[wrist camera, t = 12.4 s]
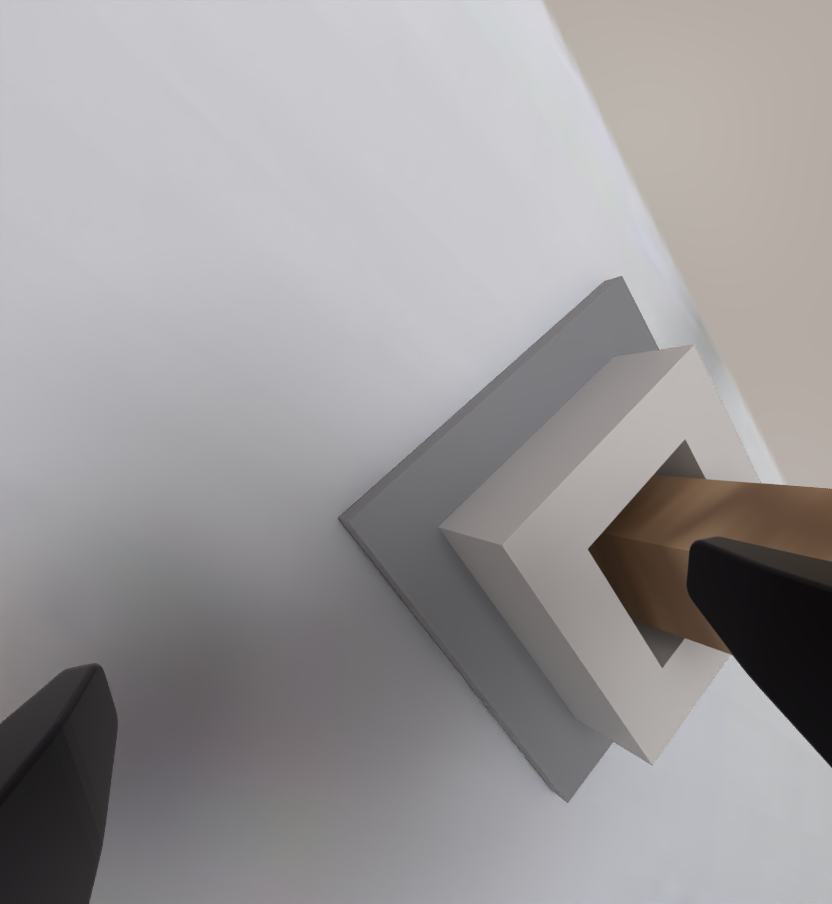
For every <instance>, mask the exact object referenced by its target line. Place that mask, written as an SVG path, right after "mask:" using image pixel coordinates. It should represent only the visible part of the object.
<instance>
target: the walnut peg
mask: <svg viewBox="0 0 832 904" xmlns="http://www.w3.org/2000/svg"><path fill="white" fill-rule="evenodd" d="M712 536H720V537H725V538H729V539H734V540H738V541H742V542H747V543H751V544H756V545H760V546H765V547H769V548H774V549H778V550H782V551H787V552H791V553H796V554H800V555H805V556H809V557H814V558H818V559H822V560H827V561H831V562H832V489H826V488H814V487H800V486H788V485H775V484H762V483H749V482H736V481H723V480H710V479H697V478H684V477H671V476H658V475H653V476H652V477H651V478H650V479H649V480H648V481H647V483H646V484H645V485H644V486H643V487H642V488H641V489H640V490H639V492H638V493H637V494H636V495H635V496H634V497H633V498H632V500H631V501H630V502H629V503H628V504H627V505H626V506H625V507H624V509H623V510H622V511H621V512H620V513H619V514H618V515H617V516H616V518H615V519H614V520H613V521H612V522H611V523H610V524H609V525H608V527H607V528H606V529H605V530H604V531H603V532H602V533H601V535H600V536H599V537H598V538H597V539H596V540H595V541H594V542H593V544H592V545H591V546H590V547H589V548H588V551H589V552H590V554H591V556H592V557H593V559H594V560H595V562H596V564H597V565H598V567H599V568H600V570H601V572H602V573H603V575H604V576H605V578H606V579H607V581H608V583H609V584H610V586H611V587H612V589H613V591H614V592H615V594H616V595H617V597H618V599H619V600H620V602H621V603H622V605H623V607H624V608H625V610H626V611H627V613H628V615H629V616H630V618H631V619H632V620H635V621H638V622H641V623H644V624H646V625H649V626H652V627H655V628H658V629H660V630H663V631H666V632H669V633H672V634H674V635H677V636H680V637H683V638H686V639H689V640H691V641H694V642H697V643H700V644H703V645H705V646H708V647H711V648H714V649H717V650H719V651H722V652H725V653H728V654H731V655H732V653H731V652H730V651H729V650H728V648H727V647H726V646H725V644H724V643H723V642H722V640H721V639H720V638H719V636H718V635H717V634H716V632H715V631H714V630H713V628H712V627H711V626H710V624H709V623H708V622H707V620H706V619H705V618H704V616H703V615H702V614H701V612H700V611H699V610H698V608H697V607H696V606H695V604H694V603H693V602H692V600H691V599H690V597H689V595H688V592H687V588H686V579H687V568H688V558H689V549H690V546H691V544H692V543H693V542H694V541H695V540H698V539H703V538H707V537H712Z"/></svg>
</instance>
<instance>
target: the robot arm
mask: <svg viewBox="0 0 832 904" xmlns="http://www.w3.org/2000/svg"><path fill="white" fill-rule="evenodd" d="M686 588H687V592H688V595H689V597H690V599H691V600H692V602H693V603H694V604H695V606H696V607H697V608H698V610H699V611H700V612H701V614H702V615H703V616H704V618H705V619H706V620H707V622H708V623H709V624H710V626H711V627H712V628H713V630H714V631H715V632H716V634H717V635H718V636H719V638H720V639H721V640H722V642H723V643H724V644H725V646H726V647H727V648H728V650H729V651H730V652H731V653H732V655H733V656H734V657H735V659H736V660H737V661H738V663H739V664H740V665H741V667H742V668H743V669H744V670H745V672H746V673H747V674H748V675H749V676H750V678H751V679H752V680H753V681H754V682H755V683H756V685H757V686H758V687H759V688H760V689H761V690H762V691H763V692H764V694H765V695H766V696H767V697H768V698H769V699H770V700H771V701H772V702H773V703H774V705H775V706H776V707H777V708H778V709H779V710H780V711H781V712H782V713H783V715H784V716H785V717H786V718H787V719H788V720H789V721H790V722H791V723H792V724H793V726H794V727H795V728H796V729H797V730H798V731H799V732H800V733H801V734H802V735H803V737H804V738H805V739H806V740H807V741H808V742H809V743H810V744H811V745H812V747H813V748H814V749H815V750H816V751H817V752H818V753H819V754H820V755H821V756H822V758H823V759H824V760H825V761H826V762H827V763H828V764H829V765H830V766H831V768H832V562H831V561H827V560H822V559H818V558H814V557H809V556H805V555H800V554H796V553H791V552H787V551H782V550H778V549H774V548H769V547H765V546H760V545H756V544H751V543H747V542H742V541H738V540H734V539H729V538H725V537H720V536H712V537H707V538H703V539H698V540H695V541H694V542H693V543H692V544H691V546H690V549H689V558H688V568H687V579H686ZM117 729H118V721H117V713H116V709H115V705H114V702H113V699H112V696H111V692H110V689H109V686H108V682H107V679H106V676H105V673H104V670H103V668H102V667H101V666H100V665H99V664H97V663H93V664H88V665H83V666H78V667H73V668H68V669H66V670H64V671H62V672H61V673H60V674H59V675H58V676H56V677H55V678H54V679H53V680H52V681H50V682H49V683H48V684H47V685H46V686H44V687H43V688H42V689H41V690H40V691H38V692H37V693H36V694H35V695H34V696H32V697H31V698H30V699H29V700H28V701H27V702H25V703H24V704H23V705H22V706H21V707H19V708H18V709H17V710H16V711H15V712H13V713H12V714H11V715H10V716H9V717H7V718H6V719H5V720H4V721H3V722H1V723H0V904H89V901H90V897H91V893H92V889H93V885H94V881H95V876H96V872H97V868H98V864H99V859H100V855H101V850H102V845H103V839H104V832H105V825H106V817H107V810H108V802H109V794H110V786H111V778H112V770H113V762H114V754H115V746H116V738H117Z"/></svg>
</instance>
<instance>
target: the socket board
mask: <svg viewBox="0 0 832 904" xmlns="http://www.w3.org/2000/svg"><path fill="white" fill-rule="evenodd" d="M653 475H658V476H671V477H684V478H697V479H710V480H723V481H736V482H749V483H761V481H760V479H759V477H758V475H757V473H756V471H755V469H754V467H753V465H752V463H751V461H750V459H749V456H748V454H747V452H746V450H745V448H744V446H743V444H742V442H741V440H740V438H739V436H738V434H737V432H736V429H735V427H734V425H733V423H732V421H731V419H730V417H729V415H728V413H727V411H726V409H725V407H724V405H723V402H722V400H721V398H720V396H719V394H718V392H717V390H716V388H715V386H714V384H713V382H712V380H711V378H710V375H709V373H708V371H707V369H706V367H705V365H704V363H703V361H702V359H701V357H700V355H699V353H698V351H697V348H696V346H695V345H688V346H681V347H675V348H668V349H662V350H659V348H658V346H657V344H656V342H655V340H654V338H653V337H652V335H651V333H650V331H649V329H648V327H647V325H646V323H645V321H644V319H643V317H642V315H641V313H640V311H639V309H638V307H637V305H636V303H635V301H634V299H633V297H632V295H631V293H630V291H629V289H628V287H627V285H626V283H625V281H624V279H623V277H622V276H620V277H617V278H614V279H610V280H607V281H604V282H603V283H602V284H601V285H600V286H599V287H598V288H597V289H595V290H594V291H593V292H592V293H591V294H590V295H589V296H588V297H586V298H585V299H584V300H583V301H582V302H581V303H580V304H579V305H577V306H576V307H575V308H574V309H573V310H572V311H571V312H570V313H568V314H567V315H566V316H565V317H564V318H563V319H562V320H561V321H559V322H558V323H557V324H556V325H555V326H554V327H553V328H552V329H550V330H549V331H548V332H547V333H546V334H545V335H544V336H543V337H541V338H540V339H539V340H538V341H537V342H536V343H535V344H534V345H532V346H531V347H530V348H529V349H528V350H527V351H526V352H525V353H523V354H522V355H521V356H520V357H519V358H518V359H517V360H516V361H514V362H513V363H512V364H511V365H510V366H509V367H508V368H507V369H505V370H504V371H503V372H502V373H501V374H500V375H499V376H498V377H496V378H495V379H494V380H493V381H492V382H491V383H490V384H489V385H487V386H486V387H485V388H484V389H483V390H482V391H481V392H480V393H478V394H477V395H476V396H475V397H474V398H473V399H472V400H471V401H469V402H468V403H467V404H466V405H465V406H464V407H463V408H461V409H460V410H459V411H458V412H457V413H456V414H455V415H454V416H452V417H451V418H450V419H449V420H448V421H447V422H446V423H445V424H443V425H442V426H441V427H440V428H439V429H438V430H437V431H436V432H434V433H433V434H432V435H431V436H430V437H429V438H428V439H427V440H425V441H424V442H423V443H422V444H421V445H420V446H419V447H418V448H416V449H415V450H414V451H413V452H412V453H411V454H410V455H409V456H407V457H406V458H405V459H404V460H403V461H402V462H401V463H400V464H398V465H397V466H396V467H395V468H394V469H393V470H392V471H391V472H389V473H388V474H387V475H386V476H385V477H384V478H383V479H382V480H380V481H379V482H378V483H377V484H376V485H375V486H374V487H373V488H371V489H370V490H369V491H368V492H367V493H366V494H365V495H364V496H362V497H361V498H360V499H359V500H358V501H357V502H356V503H355V504H353V505H352V506H351V507H350V508H349V509H348V510H347V511H346V512H344V513H343V514H342V515H341V516H340V517H339V520H340V521H341V522H342V523H343V525H344V526H345V527H346V528H347V530H348V531H349V532H350V534H351V535H352V536H353V537H354V539H355V540H356V541H357V542H358V544H359V545H360V546H361V548H362V549H363V550H364V551H365V553H366V554H367V555H368V556H369V558H370V559H371V560H372V562H373V563H374V564H375V565H376V567H377V568H378V569H379V571H380V572H381V573H382V574H383V576H384V577H385V578H386V579H387V581H388V582H389V583H390V585H391V586H392V587H393V588H394V590H395V591H396V592H397V593H398V595H399V596H400V597H401V599H402V600H403V601H404V602H405V604H406V605H407V606H408V607H409V609H410V610H411V611H412V613H413V614H414V615H415V616H416V618H417V619H418V620H419V622H420V623H421V624H422V625H423V627H424V628H425V629H426V630H427V632H428V633H429V634H430V636H431V637H432V638H433V639H434V641H435V642H436V643H437V644H438V646H439V647H440V648H441V650H442V651H443V652H444V653H445V655H446V656H447V657H448V658H449V660H450V661H451V662H452V664H453V665H454V666H455V667H456V669H457V670H458V671H459V673H460V674H461V675H462V676H463V678H464V679H465V680H466V681H467V683H468V684H469V685H470V687H471V688H472V689H473V690H474V692H475V693H476V694H477V695H478V697H479V698H480V699H481V701H482V702H483V703H484V704H485V706H486V707H487V708H488V709H489V711H490V712H491V713H492V715H493V716H494V717H495V718H496V720H497V721H498V722H499V724H500V725H501V726H502V727H503V729H504V730H505V731H506V732H507V734H508V735H509V736H510V738H511V739H512V740H513V741H514V743H515V744H516V745H517V746H518V748H519V749H520V750H521V752H522V753H523V754H524V755H525V757H526V758H527V759H528V760H529V762H530V763H531V764H532V766H533V767H534V768H535V769H536V771H537V772H538V773H539V775H540V776H541V777H542V778H543V780H544V781H545V782H546V783H547V785H548V786H549V787H550V789H551V790H552V791H553V792H555V793H556V794H557V795H558V796H560V797H561V798H562V799H563V800H564V801H566V802H567V803H568V802H569V801H570V799H571V798H572V797H573V795H574V794H575V792H576V791H577V790H578V788H579V787H580V786H581V784H582V783H583V782H584V780H585V779H586V778H587V776H588V775H589V774H590V772H591V771H592V770H593V768H594V767H595V766H596V764H597V763H598V762H599V760H600V759H601V757H602V756H603V755H604V753H605V752H606V751H607V749H608V748H609V747H610V745H611V744H612V743H613V742H615V743H616V744H618V745H620V746H621V747H623V748H624V749H626V750H628V751H629V752H631V753H633V754H634V755H636V756H638V757H639V758H641V759H642V760H644V761H646V762H647V763H649V764H651V765H652V766H653V765H654V763H655V762H656V760H657V759H658V757H659V756H660V755H661V753H662V752H663V750H664V749H665V747H666V746H667V745H668V743H669V742H670V740H671V739H672V738H673V736H674V735H675V733H676V732H677V730H678V729H679V728H680V726H681V725H682V723H683V722H684V720H685V719H686V718H687V716H688V715H689V713H690V712H691V710H692V709H693V708H694V706H695V705H696V703H697V702H698V700H699V699H700V698H701V696H702V695H703V693H704V692H705V691H706V689H707V688H708V686H709V685H710V683H711V682H712V681H713V679H714V678H715V676H716V675H717V673H718V672H719V671H720V669H721V668H722V666H723V665H724V663H725V662H726V661H727V659H728V658H729V656H730V655H731V654H728V653H725V652H722V651H719V650H717V649H714V648H711V647H708V646H705V645H703V644H700V643H697V642H694V641H691V640H689V639H686V638H683V637H680V636H677V635H674V634H672V633H669V632H666V631H663V630H660V629H658V628H655V627H652V626H649V625H646V624H644V623H641V622H638V621H635V620H632V619H631V618H630V616H629V615H628V613H627V611H626V610H625V608H624V607H623V605H622V603H621V602H620V600H619V599H618V597H617V595H616V594H615V592H614V591H613V589H612V587H611V586H610V584H609V583H608V581H607V579H606V578H605V576H604V575H603V573H602V572H601V570H600V568H599V567H598V565H597V564H596V562H595V560H594V559H593V557H592V556H591V554H590V552H589V551H588V548H589V547H590V546H591V545H592V544H593V542H594V541H595V540H596V539H597V538H598V537H599V536H600V535H601V533H602V532H603V531H604V530H605V529H606V528H607V527H608V525H609V524H610V523H611V522H612V521H613V520H614V519H615V518H616V516H617V515H618V514H619V513H620V512H621V511H622V510H623V509H624V507H625V506H626V505H627V504H628V503H629V502H630V501H631V500H632V498H633V497H634V496H635V495H636V494H637V493H638V492H639V490H640V489H641V488H642V487H643V486H644V485H645V484H646V483H647V481H648V480H649V479H650V478H651V477H652V476H653Z"/></svg>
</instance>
